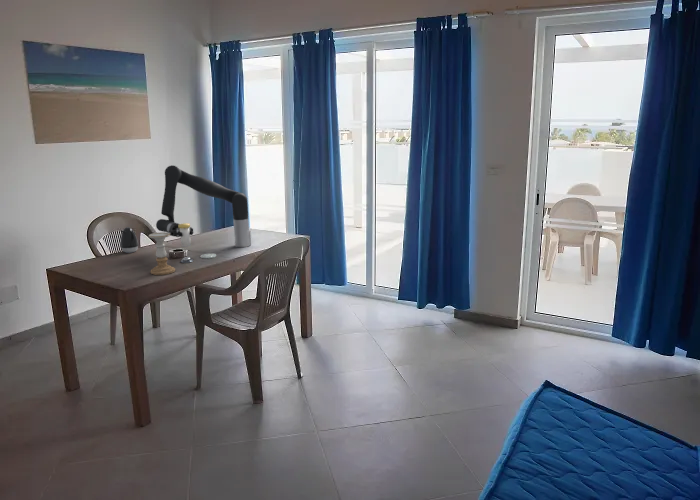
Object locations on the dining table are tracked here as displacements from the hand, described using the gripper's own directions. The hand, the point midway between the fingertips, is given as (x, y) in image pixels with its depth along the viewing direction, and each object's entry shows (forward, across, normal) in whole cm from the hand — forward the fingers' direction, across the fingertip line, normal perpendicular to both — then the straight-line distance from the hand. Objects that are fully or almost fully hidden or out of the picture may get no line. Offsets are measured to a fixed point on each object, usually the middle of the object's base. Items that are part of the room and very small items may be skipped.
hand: (186, 233), depth 292 cm
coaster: (-6, +14, +16) cm, 22 cm away
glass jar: (-3, 0, +7) cm, 7 cm away
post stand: (-3, 0, +16) cm, 16 cm away
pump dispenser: (-48, -18, +16) cm, 54 cm away
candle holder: (+10, -18, +16) cm, 27 cm away
